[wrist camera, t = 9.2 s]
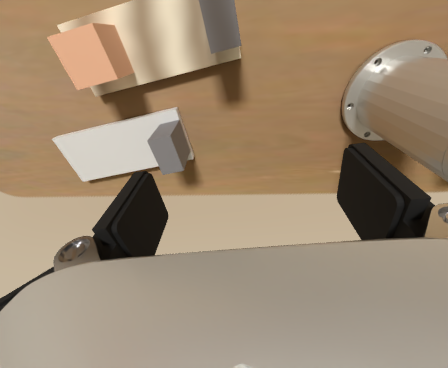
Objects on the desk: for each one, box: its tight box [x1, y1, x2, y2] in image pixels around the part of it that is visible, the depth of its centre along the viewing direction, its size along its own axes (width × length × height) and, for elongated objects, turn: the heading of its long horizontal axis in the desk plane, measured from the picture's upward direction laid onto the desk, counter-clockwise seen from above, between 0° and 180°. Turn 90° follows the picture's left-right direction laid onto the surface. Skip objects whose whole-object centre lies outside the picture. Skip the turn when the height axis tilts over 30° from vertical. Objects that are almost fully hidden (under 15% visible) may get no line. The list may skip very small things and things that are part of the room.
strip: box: [52, 107, 194, 182], centre depth 32 cm, size 20×8×7 cm, turn 103°
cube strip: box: [57, 0, 241, 96], centre depth 24 cm, size 20×8×7 cm, turn 103°
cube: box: [47, 23, 135, 90], centre depth 24 cm, size 5×5×5 cm
